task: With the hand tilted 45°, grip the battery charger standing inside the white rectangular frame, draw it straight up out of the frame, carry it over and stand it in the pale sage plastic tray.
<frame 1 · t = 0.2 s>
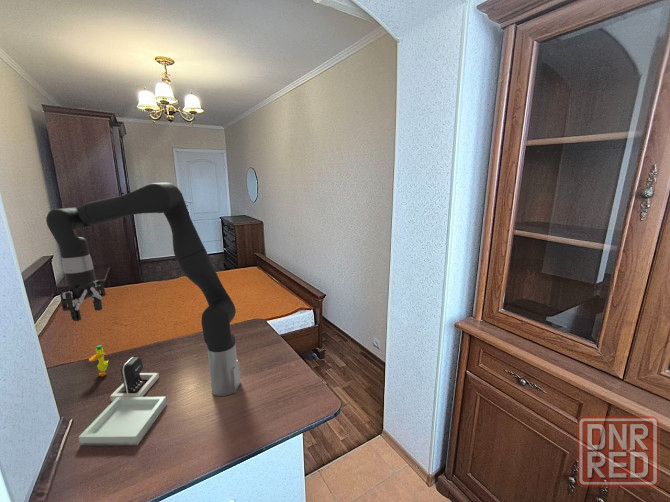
hand: (88, 315, 103), 29 cm above the counter, tool pointing down, fingers open, 8 cm apart
battery charger: (136, 389, 109), resting in white rectangular frame
toy figure: (102, 375, 117), on the counter
tray: (127, 423, 94), on the counter
white rectangular frame: (136, 388, 109), on the counter
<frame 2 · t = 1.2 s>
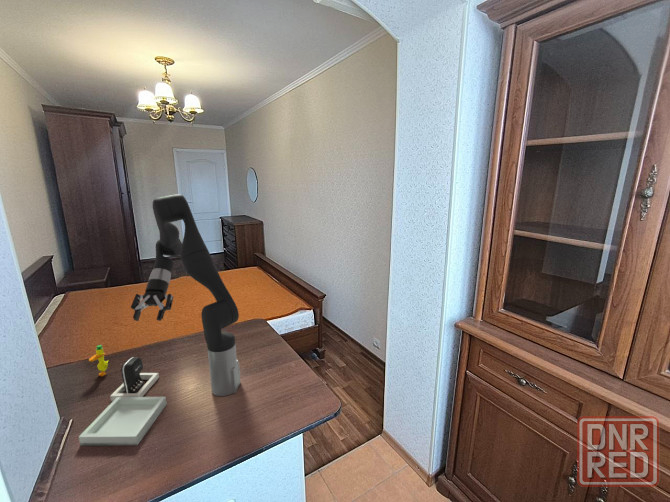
hand: (147, 320, 116), 21 cm above the counter, tool tilted 45°, fingers open, 8 cm apart
nothing on the counter moved.
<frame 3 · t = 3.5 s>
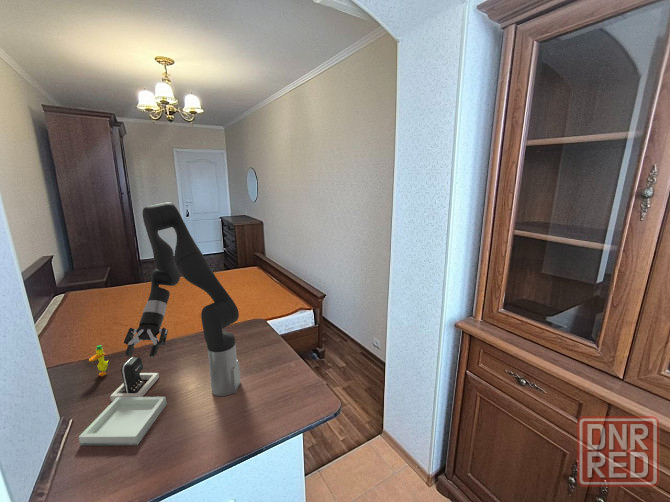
hand: (140, 356, 111), 10 cm above the counter, tool tilted 45°, fingers open, 8 cm apart
nothing on the counter moved.
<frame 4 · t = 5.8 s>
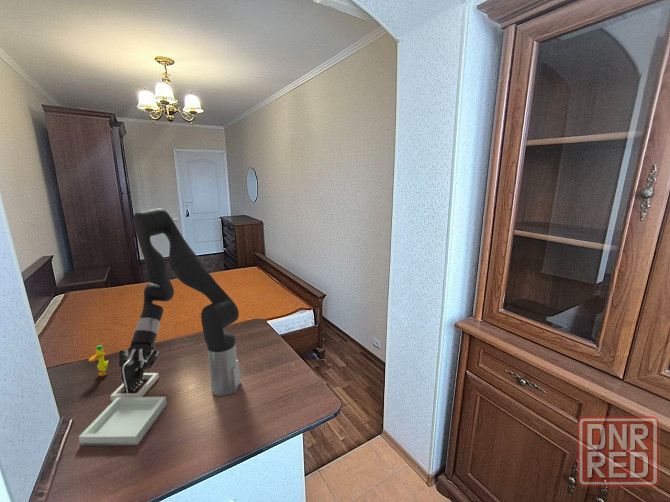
hand: (130, 380, 106), 5 cm above the counter, tool tilted 45°, fingers closed on battery charger, 4 cm apart
battery charger: (136, 389, 109), resting in white rectangular frame, touching gripper
everything else where it was.
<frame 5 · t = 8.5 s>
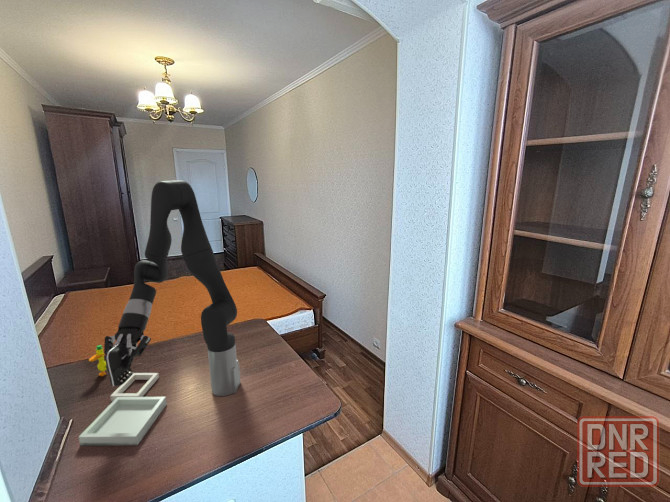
hand: (117, 370, 91), 18 cm above the counter, tool tilted 45°, fingers closed on battery charger, 4 cm apart
battery charger: (124, 380, 94), point 13 cm above the counter, touching gripper
everything else where it was.
when the fingers open (7 cm above the counter, at t = 11.3 s): battery charger drops 1 cm, resting on tray.
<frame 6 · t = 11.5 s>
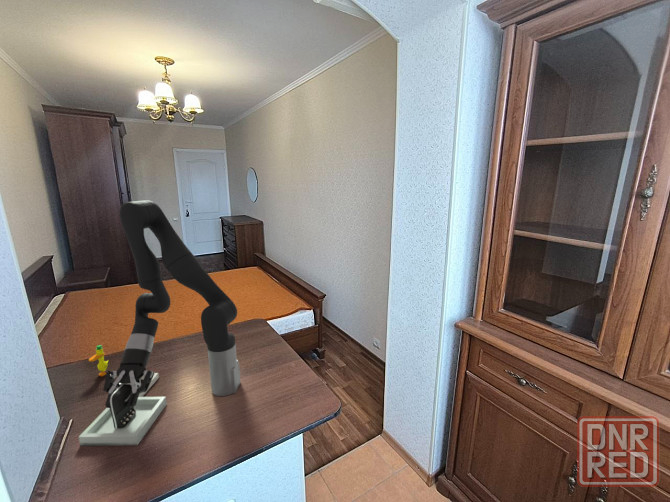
hand: (119, 407, 90), 7 cm above the counter, tool tilted 45°, fingers open, 5 cm apart
battery charger: (127, 421, 94), point 1 cm above the counter, touching tray
everything else where it was.
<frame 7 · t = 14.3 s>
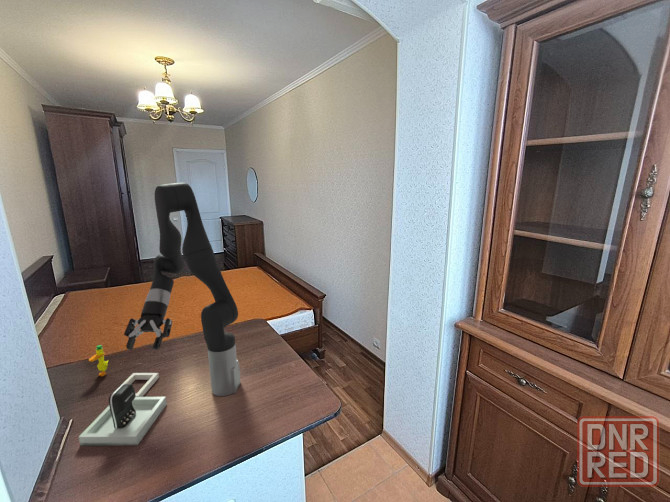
hand: (142, 349, 101), 18 cm above the counter, tool tilted 45°, fingers open, 8 cm apart
nothing on the counter moved.
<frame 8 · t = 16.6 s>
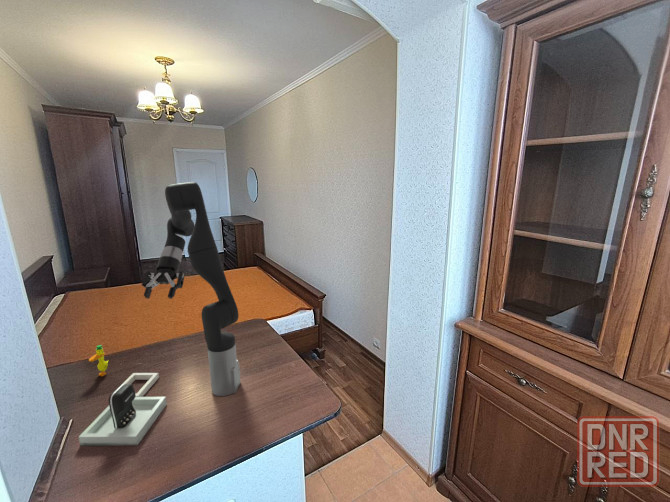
hand: (158, 297, 112), 31 cm above the counter, tool tilted 45°, fingers open, 8 cm apart
nothing on the counter moved.
at the end: battery charger inside the target area on the tray (0.1 cm from its centre), point 0.6 cm above the tray's base; battery charger tilted 0°; the gripper is holding nothing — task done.
